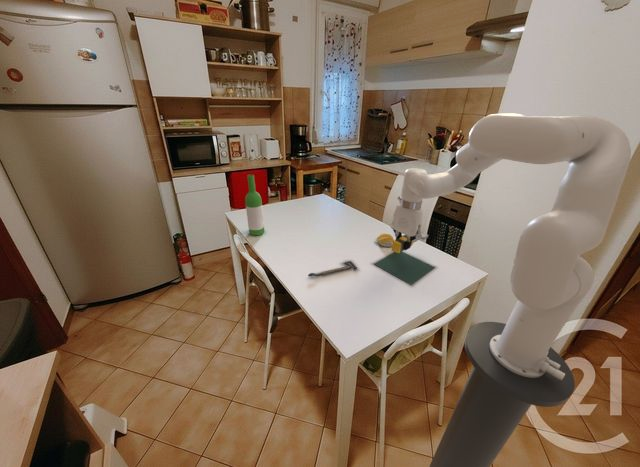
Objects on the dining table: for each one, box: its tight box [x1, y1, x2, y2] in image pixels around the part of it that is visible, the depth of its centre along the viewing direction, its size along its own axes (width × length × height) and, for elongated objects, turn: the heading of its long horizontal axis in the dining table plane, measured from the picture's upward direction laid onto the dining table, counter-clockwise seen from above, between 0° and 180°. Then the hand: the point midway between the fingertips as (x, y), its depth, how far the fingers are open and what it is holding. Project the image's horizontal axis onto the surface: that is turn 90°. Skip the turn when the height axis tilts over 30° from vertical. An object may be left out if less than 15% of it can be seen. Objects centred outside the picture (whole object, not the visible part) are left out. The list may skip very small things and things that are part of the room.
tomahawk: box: [307, 260, 358, 277], centre depth 107 cm, size 21×7×1 cm, turn 110°
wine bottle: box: [244, 174, 265, 236], centre depth 128 cm, size 8×8×30 cm
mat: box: [373, 251, 435, 286], centre depth 111 cm, size 18×18×1 cm
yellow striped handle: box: [391, 231, 429, 253], centre depth 106 cm, size 4×21×4 cm, turn 131°
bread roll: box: [376, 233, 395, 248], centre depth 127 cm, size 8×9×4 cm
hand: (402, 246), depth 103 cm, fingers closed on yellow striped handle, 3 cm apart
